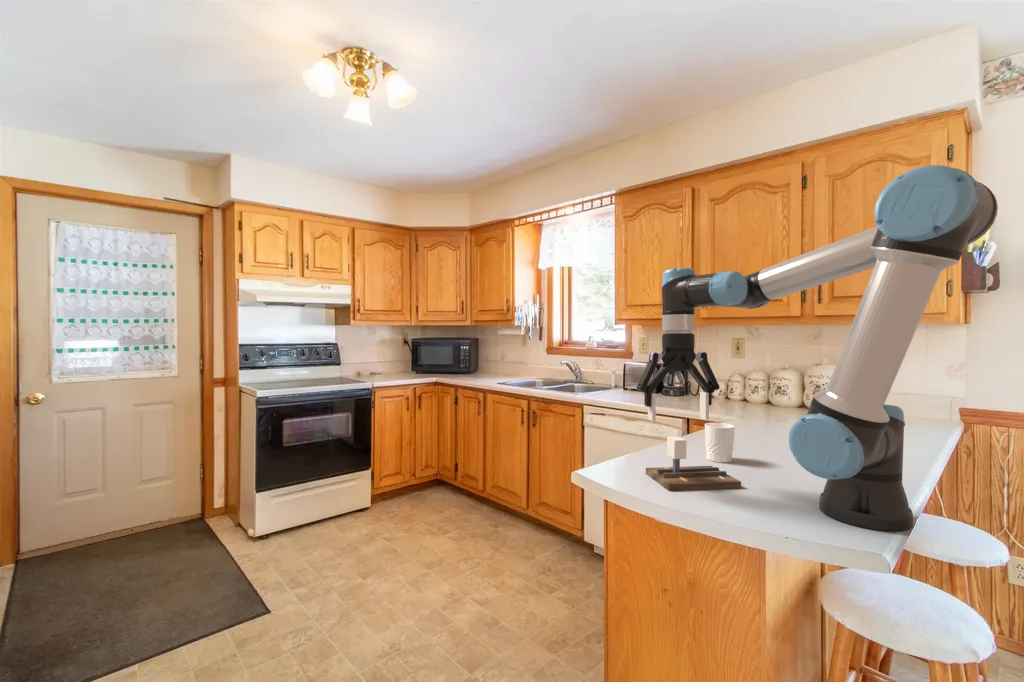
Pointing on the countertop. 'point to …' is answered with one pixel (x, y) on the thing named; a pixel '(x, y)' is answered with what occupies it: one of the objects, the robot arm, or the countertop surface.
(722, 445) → the white cup
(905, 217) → the robot arm
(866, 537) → the countertop surface
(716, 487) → the board
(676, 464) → the block
